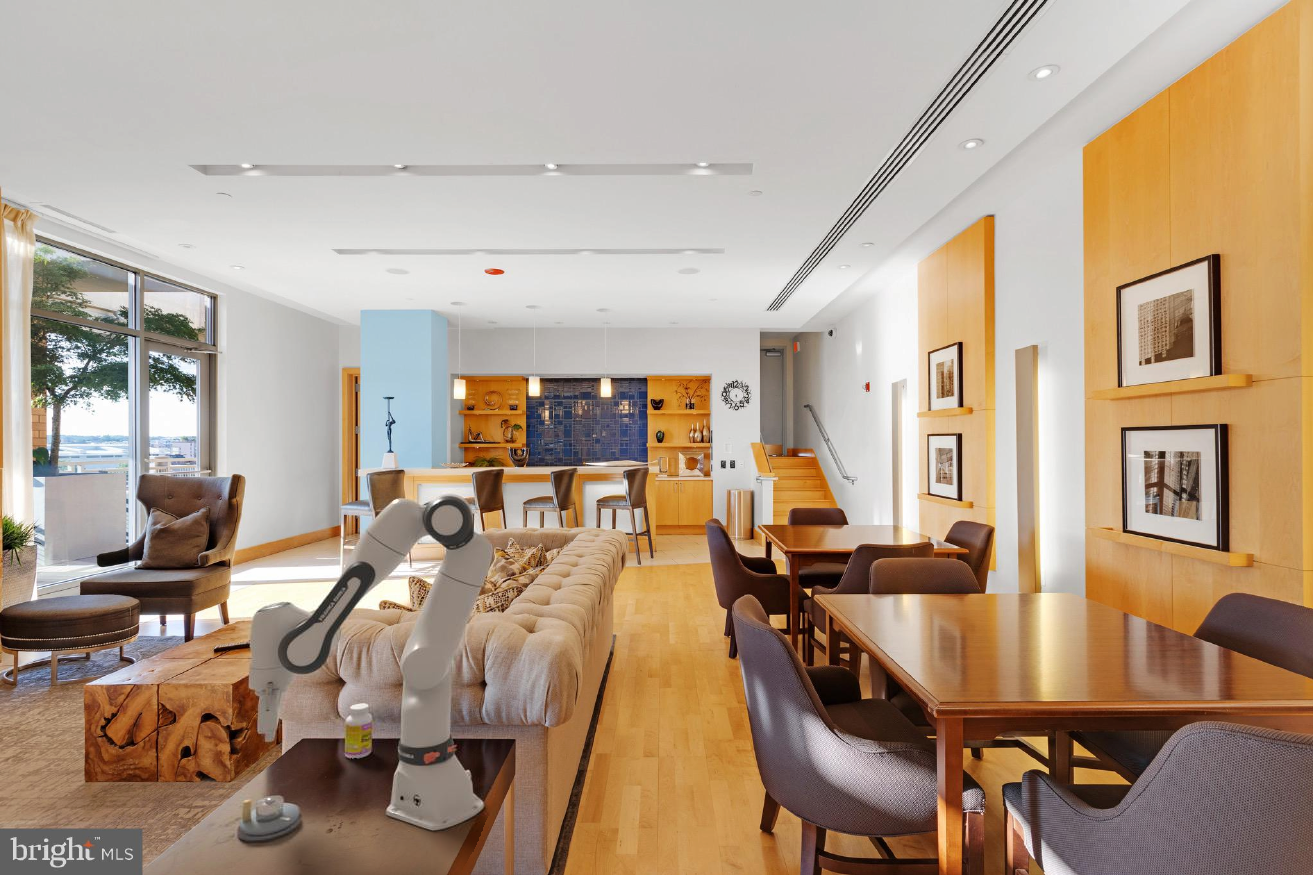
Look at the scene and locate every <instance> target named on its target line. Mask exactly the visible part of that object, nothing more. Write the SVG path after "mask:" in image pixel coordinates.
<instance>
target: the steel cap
mask: <svg viewBox="0 0 1313 875" xmlns="http://www.w3.org/2000/svg"><path fill="white" fill-rule="evenodd" d="M284 801H285V800H284V796H282V795H270V796H266V797H263V798H261V799H259V800H258V801H256V803H255V809H256V821H257V822H260V823H266V822H271V821H275V820H277V819H279V818H280V817H282V816H283V805H284V803H285V802H284Z"/></svg>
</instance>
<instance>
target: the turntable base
mask: <svg viewBox="0 0 1313 875" xmlns="http://www.w3.org/2000/svg"><path fill="white" fill-rule="evenodd" d="M300 823H302V814H301V812H299V818H298V820H297V821H296V822H295V823H294V824H292V825H291V826H289V827H287V828H285V829H283V830H281V831H278V832H275V833H271V834H266V835H247V834H244V833H242V832H241V831H240V825H238V827H237V839H238V840H239V841H242V842H244V843H249V844H258V843H259V844H260V843H267V842H271V840H272V841H274V839H275V840H278V838H279V839H282V838H283V837H285V836H289V833H290V834H292V833H293V832H294V831H296V830H297V829H298V828H299V827H298V826H299V825H300V826H301V824H300ZM297 827H298V828H297ZM296 828H297V829H296ZM295 829H296V830H295ZM292 831H293V832H292Z"/></svg>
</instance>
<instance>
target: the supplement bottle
mask: <svg viewBox="0 0 1313 875" xmlns="http://www.w3.org/2000/svg"><path fill="white" fill-rule="evenodd" d="M369 707H370V706H369V704H368V703H365V702H364V703H363V702H362V703H356V704H353V705H351V706H350V708H349V714H350V715H349V716H347V718H346V719H345V730H344V731H345V736H344V738H345V739H344V756H345V757H346V758H348V759H351V758H352V759H353V760H354V758H357V759H361V758H364V757H367V756H369V755H370V754H371V752H372V746H373V744H372V743H373V740H372V739H373V716H372V714H371V713H369V710H370V708H369ZM352 759H351V760H352Z"/></svg>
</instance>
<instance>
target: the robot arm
mask: <svg viewBox="0 0 1313 875" xmlns="http://www.w3.org/2000/svg"><path fill="white" fill-rule="evenodd" d="M426 536H430V537H431V538H432V539H433V540H435V541H436V542H438V543H439V544H440V545H442V546H443V547H444V548H445V554H444V557H443V559H442V562H441V564H440V566H439V569H438V570H437V573H436V575H435V577H434V580H433V582H432V584H431V586H430V589H429V592H428V593H427V595H426V599H425V600H424V603H423V605H422V607H421V610H420V611H419V612H420V613H419V615H418V617H417V619H416V621H415V623H414V627H413V629H412V631H411V633H410V635H409V637H408V638H407V640H406V643H405V646H404V648H403V652H402V654H401V657H400V659H399V660H400V661H399V669H400V674H401V676H402V678H403V680H402V683H403V685H402V696H401V697H402V698H401V704H400V705H401V708H400V709H401V710H400V711H401V712H400V713H401V714H400V739H399V741H398V746H397V752H398V754H397V756H398V759H399V762H398V763H397V764H398V765H397V767H396V770H395V772H394V774H393V779H392V780H393V781H392V790H391V798H390V804H389V806H388V807H386V812H385V814H386V816H387V817H388V816H389V817H391V818H394V819H398V820H401V821H404V822H406V823H409V824H412V825H415V826H418V827H421V828H423V829H427V830H430V831H438V830H439V831H440V830H443V829H446V828H449V827H454V826H455V825H457V824H458V825H459V824H461V823H463V822H465V821H466V820H469V819H470V818H472V817H474V816H476V815H477V814H478V813H480V812H481V811H482V810H483V809H484V807H485V804H484V801H483V800H482V799H481V798H479V797H478V796H477V795H476V794H475V793H474V790H473V789H474V788H473V786H474V785H473V781H472V773H471V771H470V770H469V769H467V770H465V768H464V767H463V765H462V764H461V762H460V760H459V759H458V758H457V756H456V754H455V753H456V751H457V748H456V747H457V744H454V740H453V736H452V734H451V706H452V705H451V701H452V694H451V693H452V672H453V671H452V666H453V660H454V657H455V655H456V653H457V650H458V647H459V644H460V643H461V640H462V637H463V635H464V632H465V629H466V628H467V625H468V624H467V623H468V622H469V619H470V616H471V614H472V612H473V609H474V607H475V605H476V602H477V600H478V597H479V595H480V593H481V591H482V589H483V585H484V583H485V581H486V578H487V575H488V574H489V573H488V572H489V569H490V566H491V562H492V557H493V553H494V547H493V545H492V543H491V541H490V539H488V538H487V537H485V536H484V535H482V534H479V533H477V532H476V531H475V530H474V513H473V509H472V506H471V505H470V503H469V502H468V501H467V500H466V499H465V498H464V497H462V496H461V495H458V494H454V493H445V494H441V495H440V496H439V495H438V496H437V497H436V498H434V499H432V500H430V501H428V502H425V503H423V504H419V503H418V502H416V501H414V500H412V499H410V498H403V497H402V498H400V497H399V498H395V499H394V500H392V501H391V502H390V503H389V504H388V505H387V506H386V507H384V508H383V509H382V510H381V511H380V512H379V514H377V516H376V517H375V518H374V519H373V520H372V522H370V524H369V525H368V526H367V528H366V529H365V530H364V532H362V535H361V536H360V537H359V539H358V540H357V542H356V544H355V545H354V547H353V549H352V551H351V553H350V555H349V557H348V560H347V562H346V563H345V566H344V567H343V569H342V571H341V573H340V575H339V577H338V579H337V581H336V582H335V584H334V586H333V587H332V589H331V590H330V591H329V592H328V594H327V595H326V597H324V599H323V600H322V602H321V603H320V604H319V605H318V606H317V608H316V609H315V610H314V612H311V611H307V610H304V609H301V608H300V607H298V606H296V605H295V604H294V603H293V602H289V601H281V602H275V603H272V604H268V605H265V606H262V607H261V608H259V609H258V610H256V612H255V613H254V614H253V617H252V620H251V627H250V635H249V636H250V637H249V649H250V652H251V658H250V661H249V666H248V688H249V689H250V690H253V691H254V695H256V696H257V697H259V700H258V707H257V708H258V709H257V733H258V734H259V735H260V734H262V735H264V741H265V742H266V743H268V742H273V741H275V736H276V731H277V730H278V724H279V719H280V715H281V709H282V705H283V701H284V695H285V693H286V692H287V690H288V686H290V685H292V684H293V683H294V681H295V674H296V675H307V674H311V673H314V672H316V671H318V670H319V669H320V668H322V667H323V666H324V665H325V663H326V662H327V660H328V658H329V657H330V654H332V652H333V651H334V649H336V646H337V645H339V644H338V643H339V641H340V639H341V635H342V634H341V626H342V625H343V624H344V622H346V620H347V618H348V617H349V616H350V614H351V613H352V612H353V610H354V609H355V608H356V607H357V605H358V604H359V602H361V600H362V599H363V598H364V597H365V596H366V595H368V594H369V593H370V591H372V590H373V589H374V588H375V587H376V586H378V585H379V584H381V583H382V582H383V581H384V580H385V579H386V578H387V577H389V576H390V575H391V574H392V573H393V572H394V571H395V570H396V569H397V568H398V567H399V566H400V564H401V563H402V562H404V560H405V558H406V557H407V556H408V554H409V553H410V552H411V550H412V549H413V547H414V546H415V545H416V544H417V542H419V540H421V539H422V538H425V537H426Z"/></svg>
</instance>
